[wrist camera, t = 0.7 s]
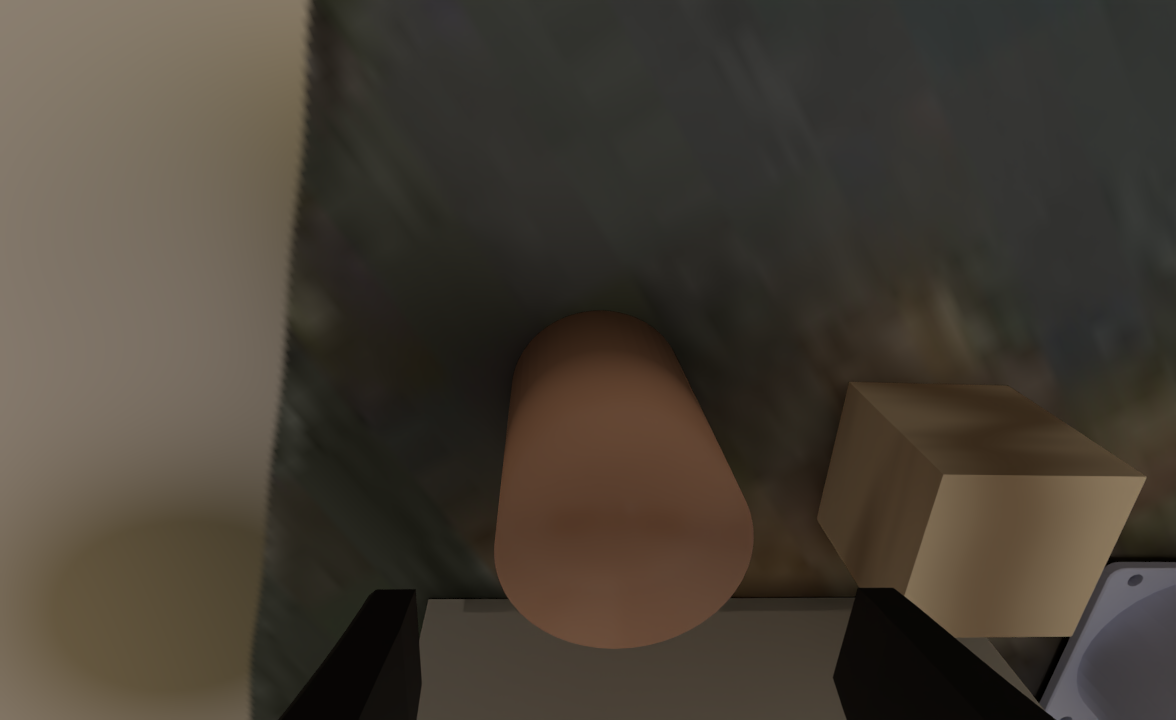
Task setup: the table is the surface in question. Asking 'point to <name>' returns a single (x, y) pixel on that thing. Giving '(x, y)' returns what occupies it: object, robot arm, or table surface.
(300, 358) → the table surface
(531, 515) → the cylinder
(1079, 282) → the table surface
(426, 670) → the tote
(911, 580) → the cube
